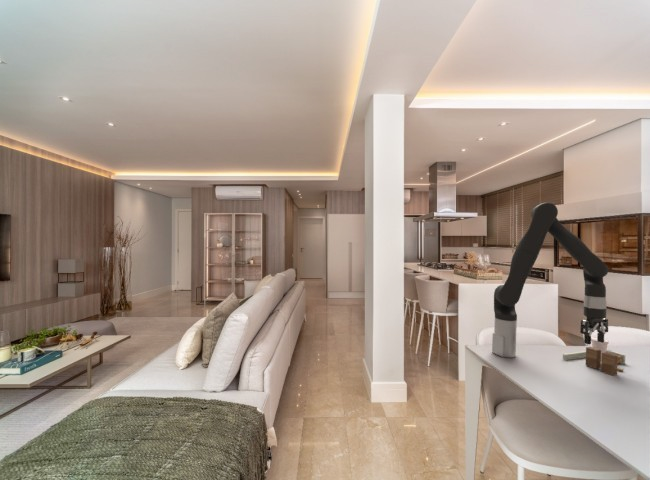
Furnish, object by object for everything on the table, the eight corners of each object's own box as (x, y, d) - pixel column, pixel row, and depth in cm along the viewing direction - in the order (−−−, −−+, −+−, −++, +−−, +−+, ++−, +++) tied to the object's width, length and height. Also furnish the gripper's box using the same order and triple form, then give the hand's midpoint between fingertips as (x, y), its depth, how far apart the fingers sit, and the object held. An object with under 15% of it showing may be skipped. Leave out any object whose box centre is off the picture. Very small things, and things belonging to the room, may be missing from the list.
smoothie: (611, 363, 140) (612, 333, 140) (595, 362, 141) (596, 331, 141) (602, 358, 146) (603, 328, 146) (586, 356, 147) (587, 327, 147)
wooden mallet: (595, 368, 133) (596, 350, 133) (569, 359, 143) (570, 342, 143) (624, 364, 139) (625, 346, 139) (598, 355, 149) (598, 339, 149)
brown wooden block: (612, 375, 127) (613, 356, 127) (601, 371, 131) (601, 352, 131) (627, 372, 130) (628, 354, 130) (616, 369, 134) (616, 350, 134)
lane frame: (590, 369, 133) (590, 360, 133) (562, 359, 143) (563, 350, 143) (625, 363, 140) (625, 355, 140) (596, 354, 151) (596, 346, 151)
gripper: (595, 303, 141) (595, 338, 141) (574, 305, 136) (573, 341, 136) (615, 307, 134) (615, 344, 134) (593, 309, 129) (593, 347, 129)
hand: (594, 342), depth 135 cm, fingers open, 8 cm apart
